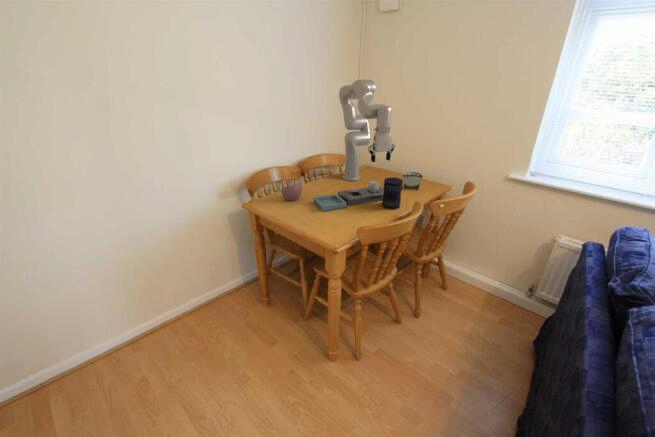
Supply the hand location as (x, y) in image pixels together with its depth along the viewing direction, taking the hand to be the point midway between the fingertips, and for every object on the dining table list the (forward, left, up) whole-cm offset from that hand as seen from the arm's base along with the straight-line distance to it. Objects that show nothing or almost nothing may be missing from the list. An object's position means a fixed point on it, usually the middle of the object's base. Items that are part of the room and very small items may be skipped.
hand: (380, 160), depth 173 cm
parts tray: (+2, -32, -21) cm, 39 cm away
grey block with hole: (0, -9, -21) cm, 23 cm away
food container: (-4, +27, -22) cm, 35 cm away
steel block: (0, -3, -21) cm, 22 cm away
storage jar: (+16, -1, -22) cm, 27 cm away
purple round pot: (-14, -49, -22) cm, 56 cm away
